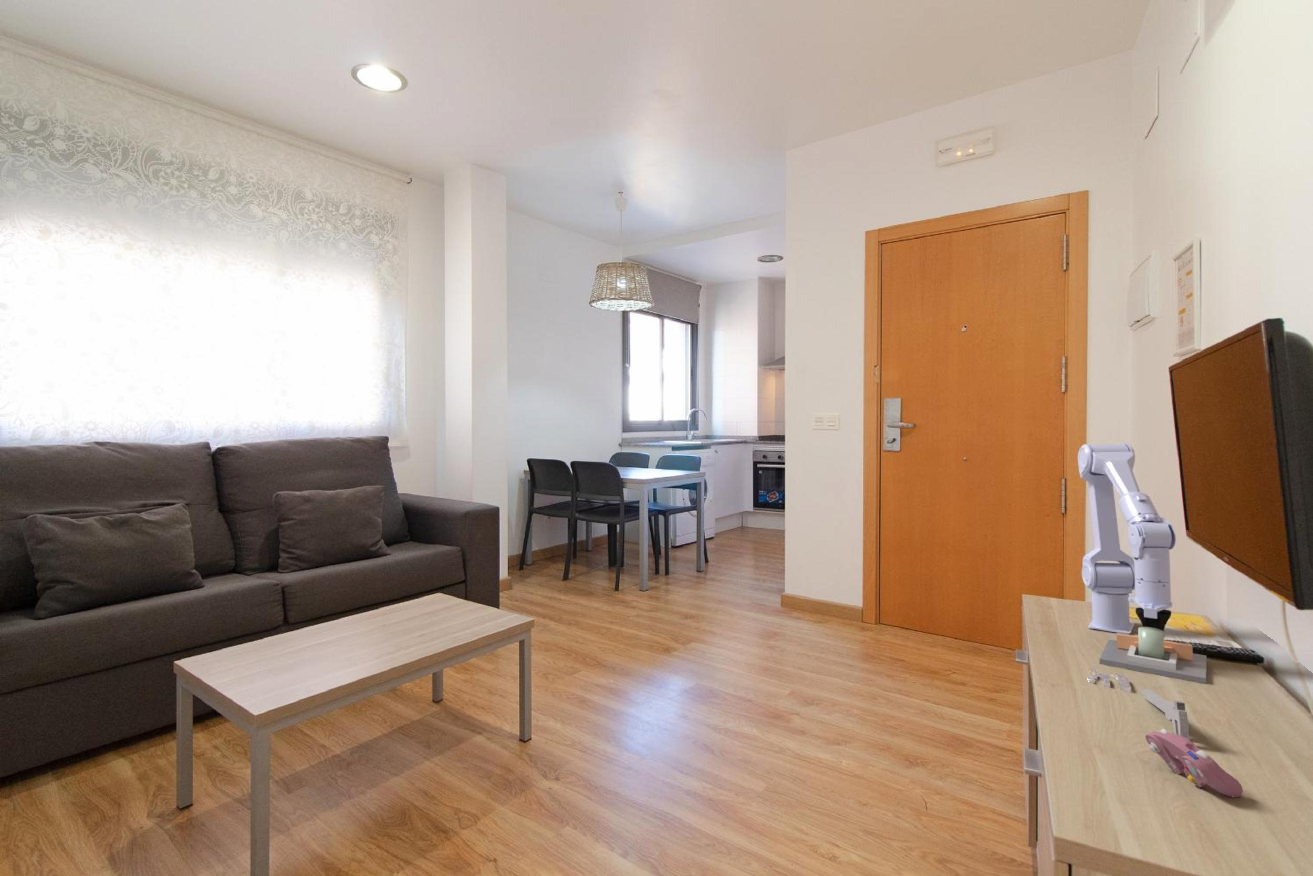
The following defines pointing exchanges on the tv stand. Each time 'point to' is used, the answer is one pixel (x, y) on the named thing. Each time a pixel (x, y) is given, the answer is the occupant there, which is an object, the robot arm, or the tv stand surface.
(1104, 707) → the tv stand surface
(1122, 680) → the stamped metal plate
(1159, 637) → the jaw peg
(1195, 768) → the video game controller
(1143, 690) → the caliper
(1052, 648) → the tv stand surface
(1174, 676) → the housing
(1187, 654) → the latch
